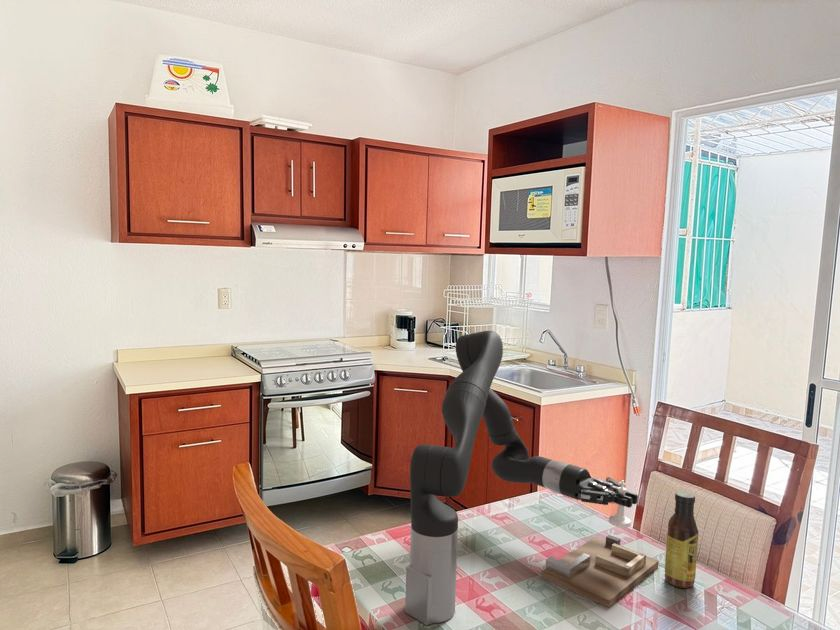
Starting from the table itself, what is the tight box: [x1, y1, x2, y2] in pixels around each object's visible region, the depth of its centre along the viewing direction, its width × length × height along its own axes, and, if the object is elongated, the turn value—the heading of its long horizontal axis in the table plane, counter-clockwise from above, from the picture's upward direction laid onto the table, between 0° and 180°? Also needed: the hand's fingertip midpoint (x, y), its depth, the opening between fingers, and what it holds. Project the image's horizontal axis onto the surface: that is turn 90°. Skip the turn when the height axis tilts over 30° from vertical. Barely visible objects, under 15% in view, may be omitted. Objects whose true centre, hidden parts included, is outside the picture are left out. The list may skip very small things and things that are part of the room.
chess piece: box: [608, 479, 632, 529], centre depth 136 cm, size 5×5×10 cm
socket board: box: [541, 534, 659, 608], centre depth 136 cm, size 24×16×4 cm, turn 135°
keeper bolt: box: [545, 553, 591, 578], centre depth 135 cm, size 9×6×2 cm, turn 135°
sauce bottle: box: [664, 490, 699, 589], centre depth 132 cm, size 7×6×20 cm
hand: (634, 501), depth 134 cm, fingers closed on chess piece
